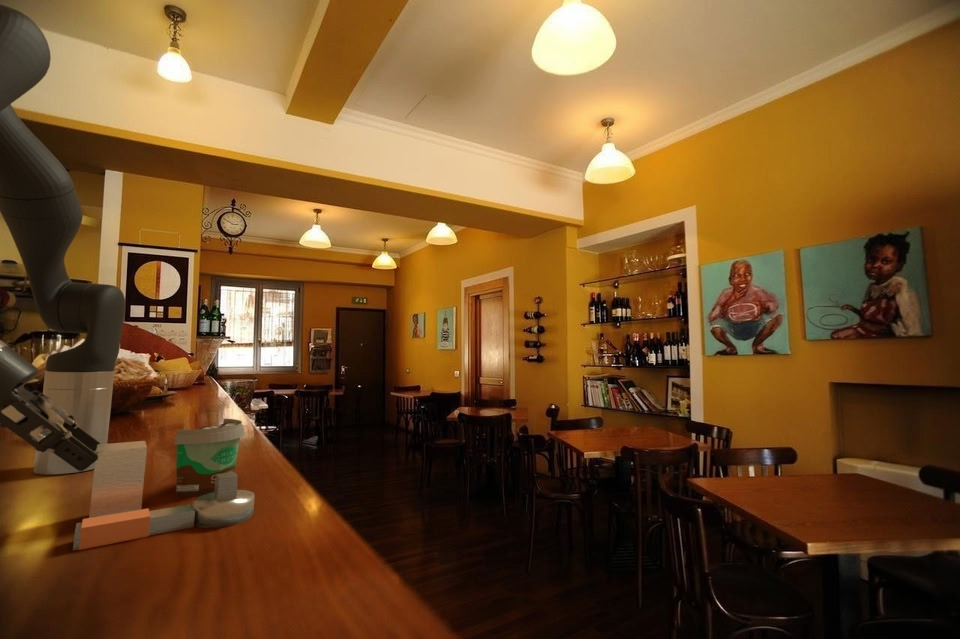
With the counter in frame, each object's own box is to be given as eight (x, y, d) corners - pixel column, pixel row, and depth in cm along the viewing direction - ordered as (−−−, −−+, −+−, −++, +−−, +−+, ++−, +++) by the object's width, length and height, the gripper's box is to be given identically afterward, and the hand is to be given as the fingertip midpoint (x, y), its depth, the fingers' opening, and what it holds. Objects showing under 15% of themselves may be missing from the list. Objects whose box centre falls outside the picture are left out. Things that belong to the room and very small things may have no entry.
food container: (210, 501, 62) (216, 431, 63) (168, 499, 63) (175, 430, 63) (255, 477, 75) (260, 419, 76) (221, 476, 75) (226, 418, 76)
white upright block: (89, 514, 56) (97, 444, 57) (138, 506, 59) (144, 440, 60) (88, 527, 52) (96, 451, 53) (140, 518, 56) (147, 447, 56)
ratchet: (75, 535, 50) (81, 486, 51) (246, 504, 62) (249, 465, 62) (71, 557, 45) (77, 503, 45) (259, 519, 56) (262, 476, 57)
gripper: (-9, 343, 45) (122, 443, 51) (15, 343, 56) (121, 426, 62) (-99, 396, 41) (55, 497, 47) (-54, 385, 52) (66, 469, 58)
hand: (92, 457), depth 55 cm, fingers open, 8 cm apart
